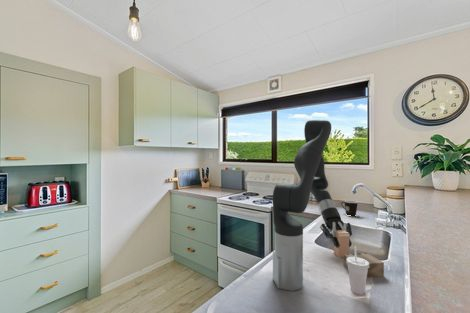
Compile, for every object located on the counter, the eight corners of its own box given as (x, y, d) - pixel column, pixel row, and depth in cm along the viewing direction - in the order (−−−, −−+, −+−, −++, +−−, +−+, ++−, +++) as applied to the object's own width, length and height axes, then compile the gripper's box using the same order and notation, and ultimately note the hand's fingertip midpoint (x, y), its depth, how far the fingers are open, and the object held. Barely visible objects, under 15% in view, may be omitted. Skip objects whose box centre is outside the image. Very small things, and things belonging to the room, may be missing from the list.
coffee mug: (360, 217, 157) (360, 203, 157) (347, 217, 157) (347, 202, 157) (351, 212, 169) (351, 199, 169) (340, 212, 169) (340, 199, 169)
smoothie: (348, 283, 74) (348, 241, 74) (370, 290, 70) (371, 246, 70) (343, 292, 70) (344, 247, 70) (367, 300, 65) (367, 253, 65)
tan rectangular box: (339, 257, 93) (339, 233, 93) (333, 253, 97) (333, 230, 97) (349, 256, 94) (349, 233, 94) (343, 252, 98) (343, 230, 98)
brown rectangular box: (357, 278, 77) (357, 263, 77) (343, 267, 85) (343, 253, 85) (383, 276, 79) (383, 262, 79) (367, 265, 87) (367, 252, 87)
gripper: (317, 207, 102) (331, 243, 90) (346, 206, 104) (364, 242, 92) (312, 215, 107) (324, 251, 95) (339, 214, 109) (355, 249, 97)
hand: (344, 246), depth 94 cm, fingers closed on tan rectangular box, 4 cm apart
